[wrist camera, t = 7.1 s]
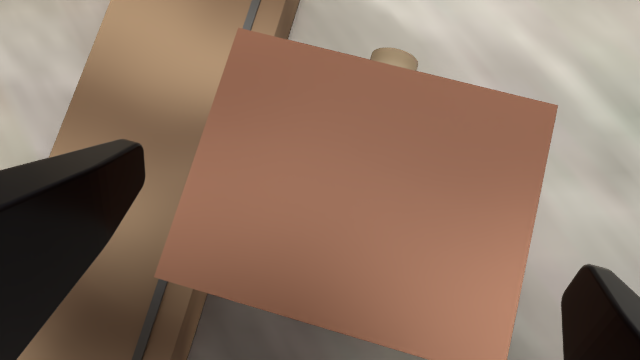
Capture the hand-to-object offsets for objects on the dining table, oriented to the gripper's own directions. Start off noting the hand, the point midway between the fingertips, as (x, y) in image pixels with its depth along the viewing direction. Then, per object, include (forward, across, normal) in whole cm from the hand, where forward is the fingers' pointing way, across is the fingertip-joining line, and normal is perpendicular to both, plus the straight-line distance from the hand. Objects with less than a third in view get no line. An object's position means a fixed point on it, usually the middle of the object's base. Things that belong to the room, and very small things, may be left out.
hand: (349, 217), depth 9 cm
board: (+7, +8, +5) cm, 11 cm away
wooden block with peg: (+7, 0, +4) cm, 9 cm away
